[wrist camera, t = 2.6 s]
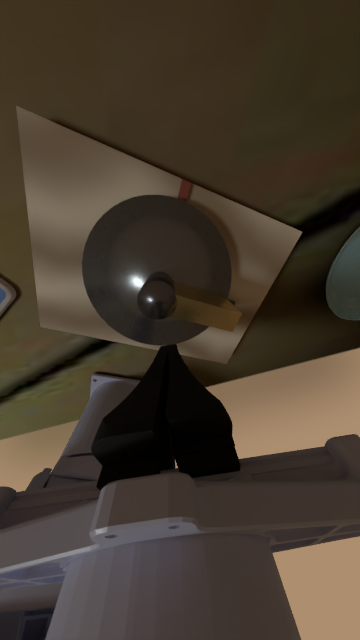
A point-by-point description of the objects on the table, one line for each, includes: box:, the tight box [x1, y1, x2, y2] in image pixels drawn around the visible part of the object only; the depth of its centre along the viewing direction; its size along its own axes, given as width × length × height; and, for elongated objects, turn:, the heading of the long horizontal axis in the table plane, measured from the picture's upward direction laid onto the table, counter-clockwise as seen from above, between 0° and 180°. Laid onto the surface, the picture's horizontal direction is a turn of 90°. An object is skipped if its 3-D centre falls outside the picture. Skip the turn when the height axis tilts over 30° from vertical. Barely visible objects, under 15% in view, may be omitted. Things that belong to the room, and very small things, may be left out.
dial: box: [82, 195, 242, 346], centre depth 12 cm, size 13×13×5 cm
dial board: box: [16, 106, 302, 364], centre depth 15 cm, size 16×22×2 cm
